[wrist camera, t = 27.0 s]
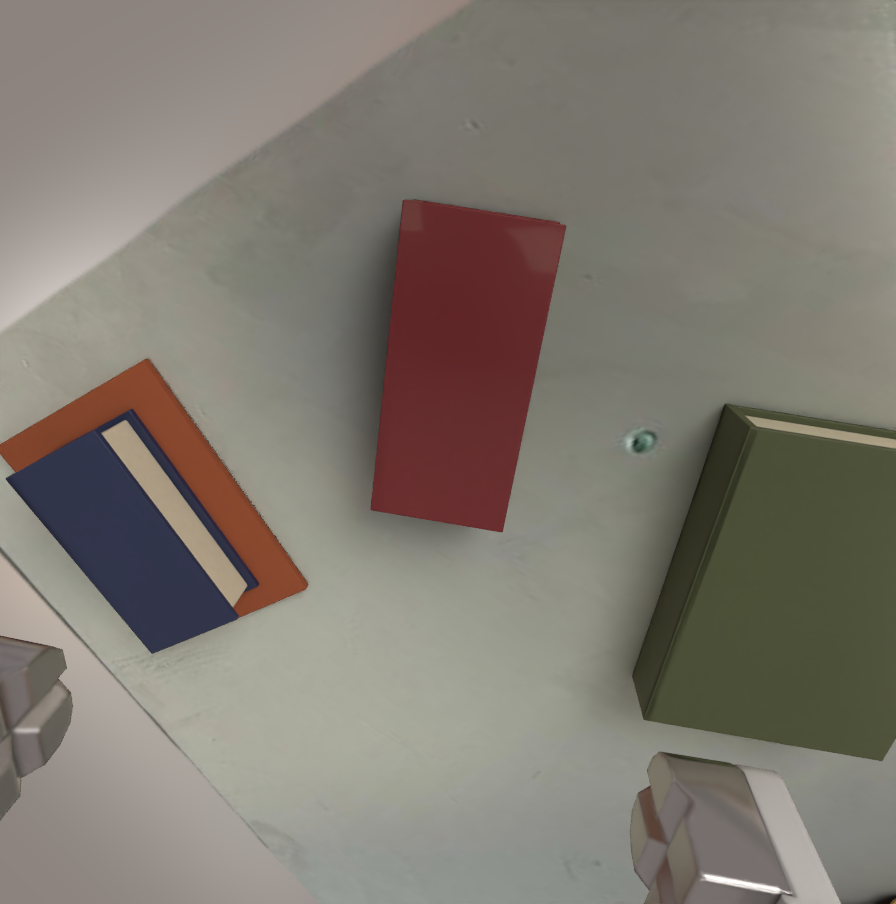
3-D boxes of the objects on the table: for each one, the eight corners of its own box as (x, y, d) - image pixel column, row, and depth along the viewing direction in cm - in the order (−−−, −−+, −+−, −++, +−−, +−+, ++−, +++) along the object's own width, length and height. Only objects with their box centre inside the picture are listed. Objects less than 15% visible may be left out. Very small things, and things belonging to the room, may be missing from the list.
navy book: (50, 452, 30) (4, 478, 28) (132, 408, 29) (93, 430, 26) (180, 616, 34) (151, 654, 31) (259, 583, 32) (237, 619, 30)
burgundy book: (414, 199, 25) (402, 199, 22) (559, 222, 25) (566, 225, 22) (382, 481, 30) (370, 510, 27) (502, 501, 30) (502, 532, 27)
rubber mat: (1, 444, 31) (-6, 448, 30) (148, 357, 28) (142, 360, 28) (168, 643, 35) (164, 649, 35) (309, 584, 33) (306, 589, 32)
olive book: (725, 403, 27) (750, 427, 24) (997, 446, 27) (1054, 475, 24) (632, 676, 33) (643, 719, 30) (850, 714, 33) (882, 761, 30)
